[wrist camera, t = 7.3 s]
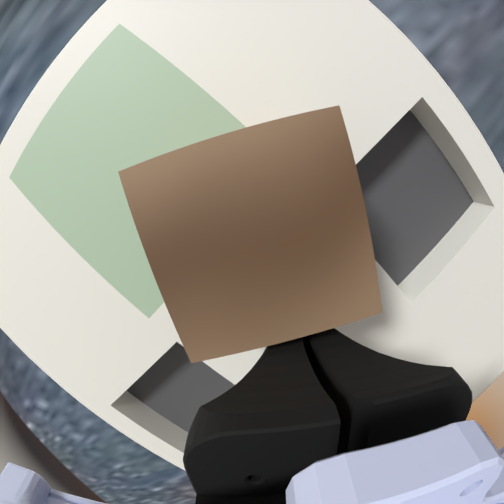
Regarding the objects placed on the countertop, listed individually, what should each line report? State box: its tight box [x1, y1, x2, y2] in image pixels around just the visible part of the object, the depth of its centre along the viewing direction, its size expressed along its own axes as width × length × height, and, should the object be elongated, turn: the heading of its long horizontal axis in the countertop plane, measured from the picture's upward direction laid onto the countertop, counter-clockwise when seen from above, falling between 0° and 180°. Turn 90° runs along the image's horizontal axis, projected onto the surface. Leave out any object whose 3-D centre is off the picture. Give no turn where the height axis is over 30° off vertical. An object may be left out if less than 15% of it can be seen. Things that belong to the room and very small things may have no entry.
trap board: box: [0, 0, 504, 471], centre depth 13 cm, size 28×23×2 cm
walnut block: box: [118, 106, 382, 363], centre depth 9 cm, size 5×5×4 cm
